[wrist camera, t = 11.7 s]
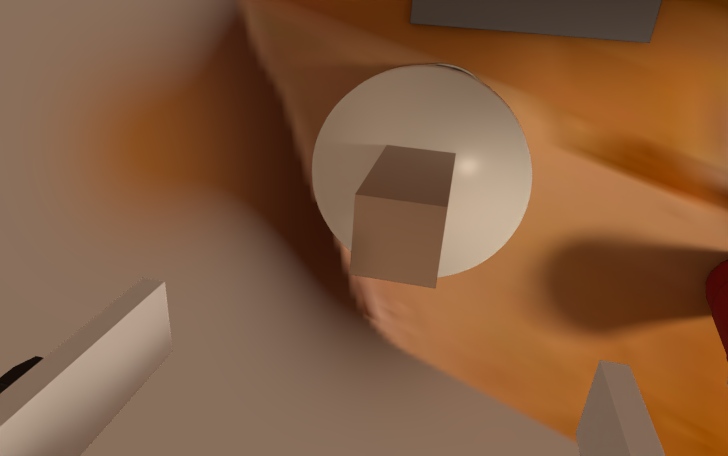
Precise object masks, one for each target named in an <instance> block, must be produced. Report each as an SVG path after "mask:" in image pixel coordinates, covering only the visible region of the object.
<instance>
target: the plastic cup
mask: <svg viewBox="0 0 728 456" xmlns="http://www.w3.org/2000/svg"><path fill="white" fill-rule="evenodd" d="M706 299H707V301H708V303H709V306H710V308H711V311H712V317H713V319H714V322H715V325H716V328H717V330H718V333H719V336H720V338H721V341H722V344H723V346H724V349H725V352H726V354H727V357H726V358H727V361H728V260H727V261H724V262H722V263H721V264H720V265H718V266H717V267H716V268H715V269H714V270H713V271H711V273H710V275H709V277H708V279H707V281H706ZM727 384H728V382H727Z"/></svg>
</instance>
